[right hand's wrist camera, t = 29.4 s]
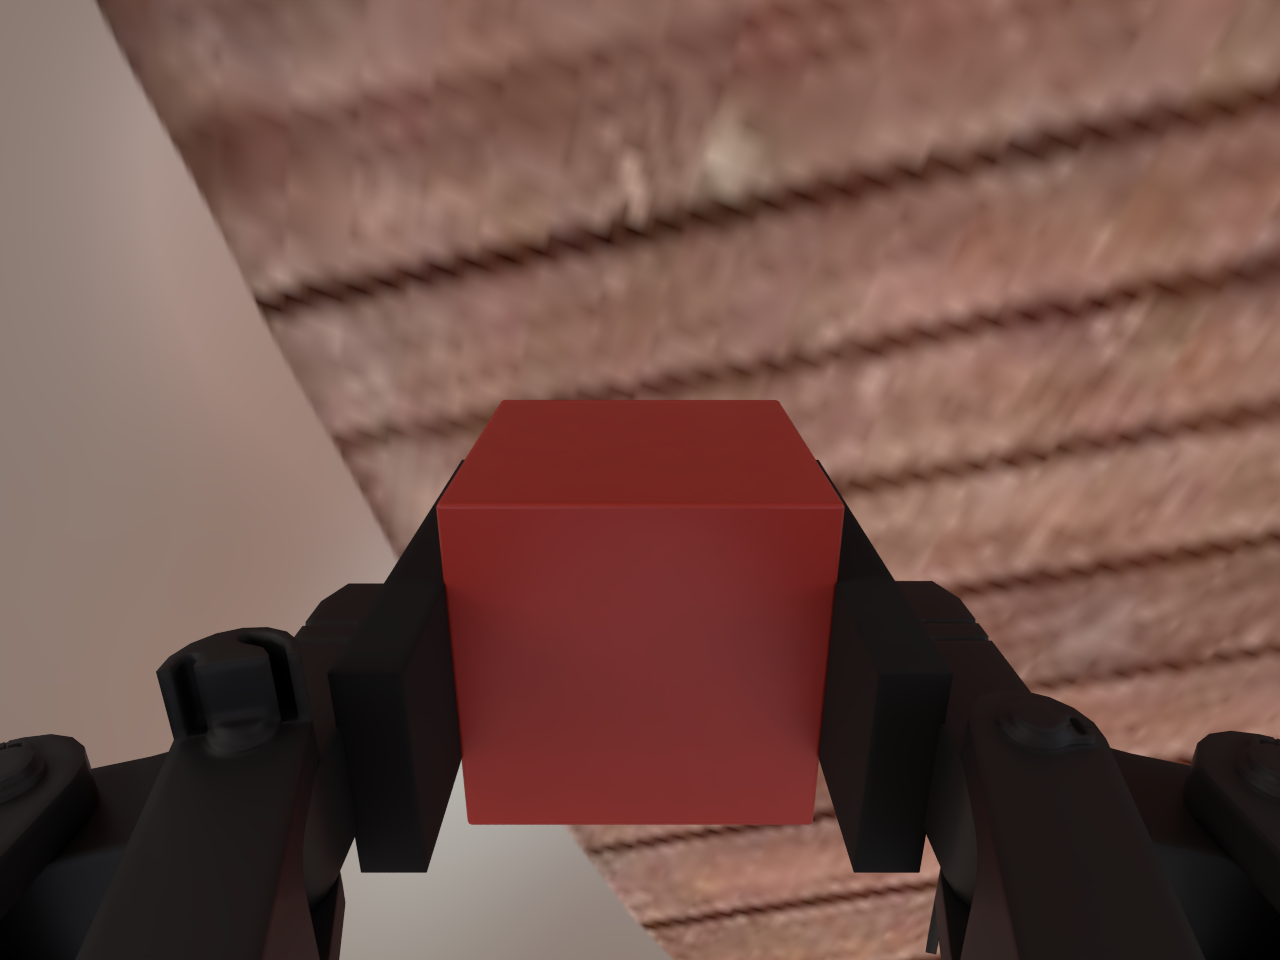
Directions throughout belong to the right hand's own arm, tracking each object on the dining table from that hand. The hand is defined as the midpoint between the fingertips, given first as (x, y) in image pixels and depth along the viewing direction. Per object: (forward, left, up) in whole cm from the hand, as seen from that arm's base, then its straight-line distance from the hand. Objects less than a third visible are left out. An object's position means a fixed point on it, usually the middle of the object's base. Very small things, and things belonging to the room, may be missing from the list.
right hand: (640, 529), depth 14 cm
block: (0, 0, 0) cm, 0 cm away
